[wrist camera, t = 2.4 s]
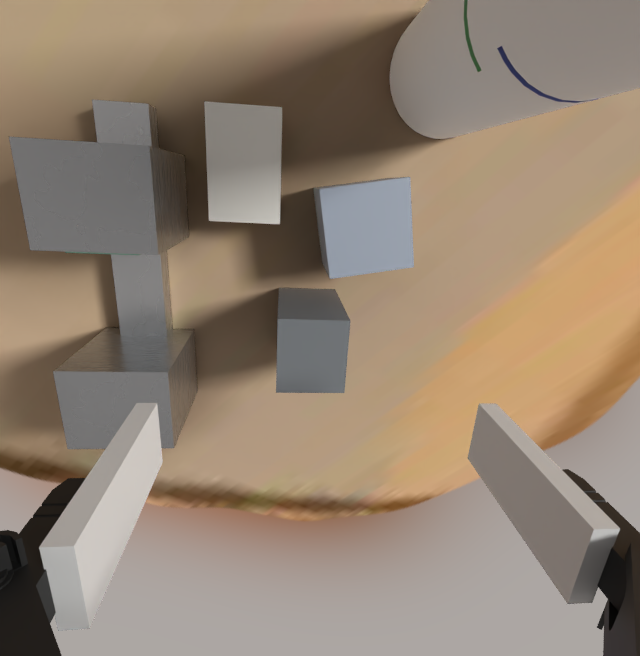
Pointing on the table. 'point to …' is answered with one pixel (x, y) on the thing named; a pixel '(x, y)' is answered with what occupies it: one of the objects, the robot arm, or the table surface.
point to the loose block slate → (365, 226)
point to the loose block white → (243, 162)
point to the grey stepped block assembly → (116, 266)
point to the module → (311, 341)
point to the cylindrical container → (511, 60)
